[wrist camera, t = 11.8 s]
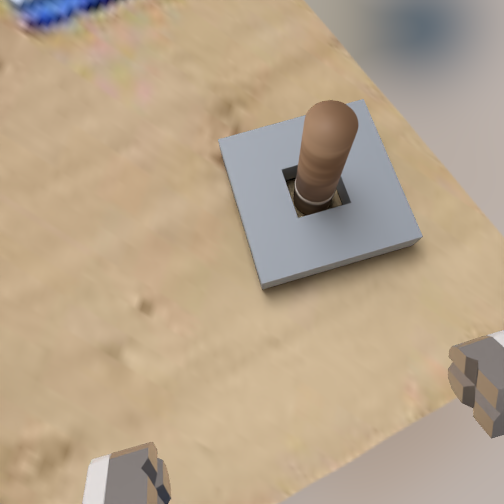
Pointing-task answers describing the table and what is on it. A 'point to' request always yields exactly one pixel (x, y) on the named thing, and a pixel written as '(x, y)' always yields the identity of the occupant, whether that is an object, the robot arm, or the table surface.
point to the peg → (323, 154)
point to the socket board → (321, 223)
